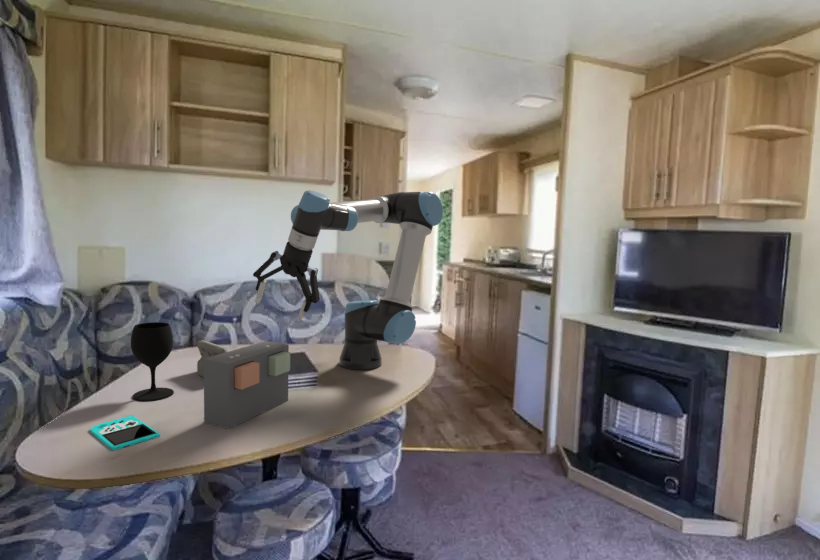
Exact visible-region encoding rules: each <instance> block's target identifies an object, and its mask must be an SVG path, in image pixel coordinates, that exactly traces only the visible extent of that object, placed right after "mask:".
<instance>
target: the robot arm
mask: <svg viewBox="0 0 820 560" xmlns="http://www.w3.org/2000/svg"><path fill="white" fill-rule="evenodd" d="M443 213H444V210H443V203H442V201H441V199H440V197H439V196H438V194H436V193H434V192H433V191H425V190H422V191H402V192H400V191H399V192H393V193H389V194H384V195H376V196H373V197H372V198H371V199H362V200H352V201H351V200H350V201H337V202H331V200H330V198H329V196H327V195H325V194H324V193H321V192H318V191H315V190H311V189H310V190H309V189H308V190H306V191H304V192H303V194H302V195H301V198H300V200H299V203H298V204H297V205H295V206H294V207H292V210H291V212H290V220H291V223H292V226H291V229H290V232H289V235H288V237H287V240H288V241H287V242H286V244H285V247H284V250H283V254H280V253H279V251H278V250H274V251H273V252H270V253H271V254H270V255H269V258H268V259H267V260H266V261H265V262H264V263H263V264H262V265H261V266H259V267H258V268H257V269H256V270H255V271H254V272H253V274H252V276H253V277H254V278H256V279H257V283H256V286H255V291H257V293H256V296H255V299H254V303H256V304H258V303H259V302H260V301H262V298H263V295H264V292H265V289H266V286H267V283H268V281H267V280H266V279H268V278H270V277H272V276H274V275H275V274H278V273H280V272H282V271H283V273H284V274H285V275H289V276H290V277H292V278H296V279H297V282H298V283H299V285H300V288H301V290H302V293H303V296H304V300H303V301H302V304H301V307H300V310H299V313H298V315H297V318H296V322H300V321H302V320H303V318H304V315H305V313H307V312H308V311H310V309H311V305H312V304H317V303H318V302H320V291H319V284H318V283H319V282H318V277H317V275H318V272H319V269H318V268H312V267H310V266H309V263H310V261H311V257H312V254H313V252H314V251H313V250H314V249H315V246H316V243H317V240H318V238H319V234H320V232H321V230H324V231H325V230H327V231H339V232H351V231H353V230H354V229H355V228H356V227H357V225H358V223H359V224H360V223H369V222H374V223H377V224H382V223H383V224H394V225H395V224H396V225H399V227H400V229H401V234H400V238H399V242H398V245H397V249H396V253H395V256H394V261H393V263H392V264H393V265H392V269H391V273H390V275H389V276H390V277H389V281H388V285H387V288H386V292H385V295H384V296H382V297H380V299H379V300H378V299H377V300H376V299H366V300H363V299H362V300H355V301H349V302H348V303H346V305H345V312H344V344H343V347H342V350H341V352H340V356H339V366H341V367H342V368H345V369H350V370H358V371H359V370H360V371H361V370H363V371H365V370H371V369H376V368H379V367H381V366H382V363H383V362H382V359H383V358H382V355H381V351H380V348H379V345H378V341H382V342H386V343H387V344H388V343H389V344H396V345H400V344H401V345H402V344H404V343H405V342H407V341H408V340H409V339H410V338H411V337H412V335H413V334H414V332H415V329H416V324H417V320H416V316H415V313H414V312H412V311H413V305H412V303H411V301H410V300H411V297H412V293H413V289H414V286H415V281H416V277H417V273H418V269H419V265H420V261H421V257H422V254H423V250H424V245H425V242H426V237H428V236H429V235H431V233H432V232H433V231H432V230H433V226H435V227H436V226H437V225H439V224H440V223H441V222H442V220H443ZM278 260H279V262H280V266H278V267H276V268H274V269H271V271H269V272H267V273H265V274H262V273H264V272H265V271H266V269H268V268H269V266H271V265H272V264H273V263H274V262H275V261H278ZM306 272H307V273H308V276H309V283H310V286H309V284H308V281H307V277H306V276H307V275H306Z"/></svg>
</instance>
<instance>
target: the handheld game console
mask: <svg viewBox="0 0 820 560" xmlns="http://www.w3.org/2000/svg"><path fill="white" fill-rule="evenodd" d="M89 432H90V433H91V434H92V435H93V436H94V437H96V438H97V439H98V440H99V441H101V442H102V443H103V444H104V445H105V446H107V447H108V448H109V449H110V450H112V451H117V450H121V449H123V448H128V447H130V446H133V445H136V444H138V443H139V444H140V443H143V442H147V441H150V440H154V439H157V438H160V437H161V433H160V432H158V431H157V430H156V429H154V428H153V427H151V426H149V425H148V424H146V423H144V422H143V421H142V420H140V419H139V418H137V417H135V416H134V415H129V416H124V417H120V418H116V419H112V420H109V421H105V422H101V423H98V424H96V425H93V426H92V427H90V428H89Z"/></svg>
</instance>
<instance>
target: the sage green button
mask: <svg viewBox="0 0 820 560" xmlns="http://www.w3.org/2000/svg"><path fill="white" fill-rule="evenodd" d="M287 371H288V372H289V371H291V352H284V351H283V352H280V353H277V354H274V355H271V356H268V375H272V376H277V375H280V374H282V373H285V372H287Z"/></svg>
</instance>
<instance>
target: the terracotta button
mask: <svg viewBox="0 0 820 560" xmlns="http://www.w3.org/2000/svg"><path fill="white" fill-rule="evenodd" d="M257 383H259V363H256V362H250V363H247V364H244V365H241V366H238V367H235V368H234V388H237V389H241V390H242V389H245V388H247V387H250V386H252V385H255V384H257Z"/></svg>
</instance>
